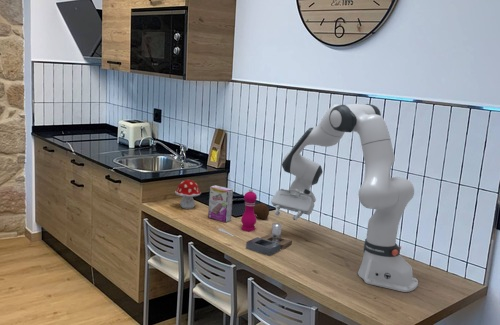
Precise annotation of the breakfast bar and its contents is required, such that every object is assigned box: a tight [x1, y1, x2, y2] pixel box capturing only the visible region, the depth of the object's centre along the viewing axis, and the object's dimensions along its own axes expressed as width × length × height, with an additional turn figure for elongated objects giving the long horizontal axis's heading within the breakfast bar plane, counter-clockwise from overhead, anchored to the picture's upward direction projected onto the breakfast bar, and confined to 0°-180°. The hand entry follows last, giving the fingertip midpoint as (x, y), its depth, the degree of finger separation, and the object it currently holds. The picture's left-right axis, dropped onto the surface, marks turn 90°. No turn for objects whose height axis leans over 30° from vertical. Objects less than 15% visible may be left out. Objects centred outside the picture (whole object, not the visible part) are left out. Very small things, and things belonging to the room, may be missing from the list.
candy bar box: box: [207, 184, 234, 223], centre depth 255 cm, size 11×5×16 cm, turn 58°
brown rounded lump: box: [254, 202, 270, 220], centre depth 263 cm, size 7×10×8 cm
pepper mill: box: [240, 188, 258, 232], centre depth 242 cm, size 7×7×20 cm
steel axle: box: [271, 222, 282, 243], centre depth 226 cm, size 4×4×9 cm
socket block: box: [245, 236, 281, 257], centre depth 219 cm, size 12×8×3 cm
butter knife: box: [217, 228, 235, 237], centre depth 233 cm, size 1×24×3 cm
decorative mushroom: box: [174, 179, 202, 210], centre depth 272 cm, size 14×14×15 cm
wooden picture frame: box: [260, 233, 293, 251], centre depth 227 cm, size 12×8×2 cm
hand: (285, 217), depth 231 cm, fingers open, 8 cm apart
